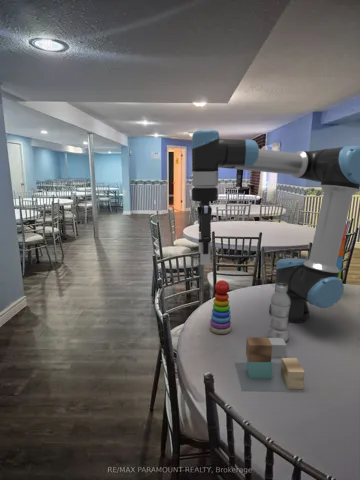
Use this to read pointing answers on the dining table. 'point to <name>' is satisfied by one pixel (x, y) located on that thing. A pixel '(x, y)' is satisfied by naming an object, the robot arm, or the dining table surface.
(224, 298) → the stacking toy
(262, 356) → the walnut block
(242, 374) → the slate board
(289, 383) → the oak block
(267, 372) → the teal block
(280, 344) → the grey block
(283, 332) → the plastic bottle
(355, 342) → the dining table surface
